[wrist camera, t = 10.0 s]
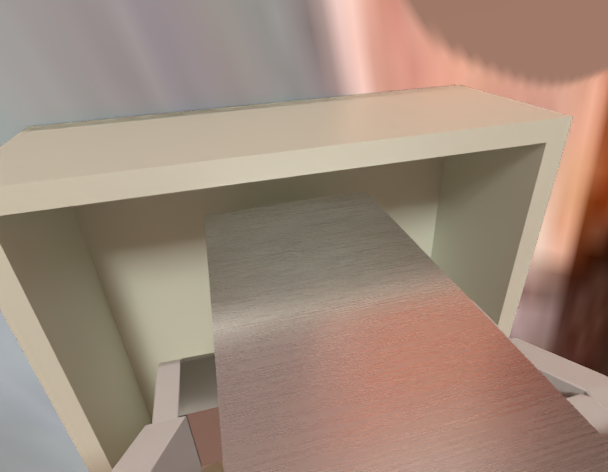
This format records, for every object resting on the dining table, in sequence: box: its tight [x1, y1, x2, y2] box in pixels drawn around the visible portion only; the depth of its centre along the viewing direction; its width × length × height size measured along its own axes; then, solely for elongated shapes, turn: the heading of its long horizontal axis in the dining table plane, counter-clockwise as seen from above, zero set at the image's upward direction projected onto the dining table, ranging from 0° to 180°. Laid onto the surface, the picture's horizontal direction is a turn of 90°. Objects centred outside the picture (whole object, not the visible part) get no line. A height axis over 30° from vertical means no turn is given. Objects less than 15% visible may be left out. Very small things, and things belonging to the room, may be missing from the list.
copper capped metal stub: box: [204, 191, 608, 472], centre depth 9 cm, size 5×5×9 cm
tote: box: [0, 85, 573, 472], centre depth 15 cm, size 14×18×5 cm
